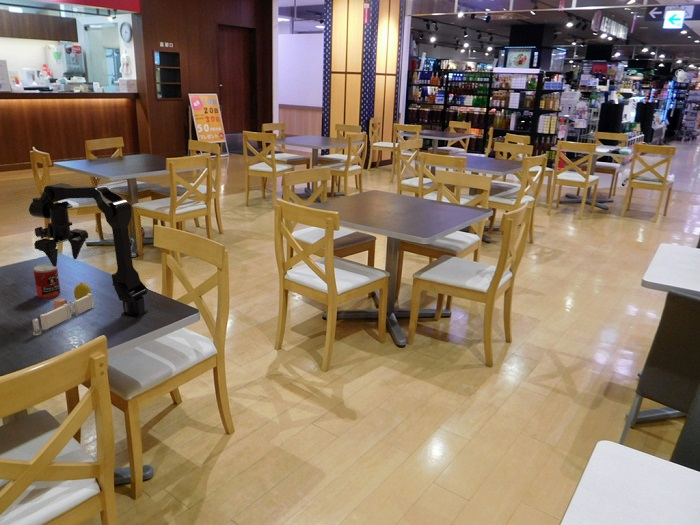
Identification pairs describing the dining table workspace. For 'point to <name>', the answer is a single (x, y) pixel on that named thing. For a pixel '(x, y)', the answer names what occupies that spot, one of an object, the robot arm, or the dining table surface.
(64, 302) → the block
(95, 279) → the dining table surface
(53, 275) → the canned food
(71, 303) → the hinge post
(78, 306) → the fence panel
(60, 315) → the gate
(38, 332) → the post
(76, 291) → the lemon
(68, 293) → the dining table surface
